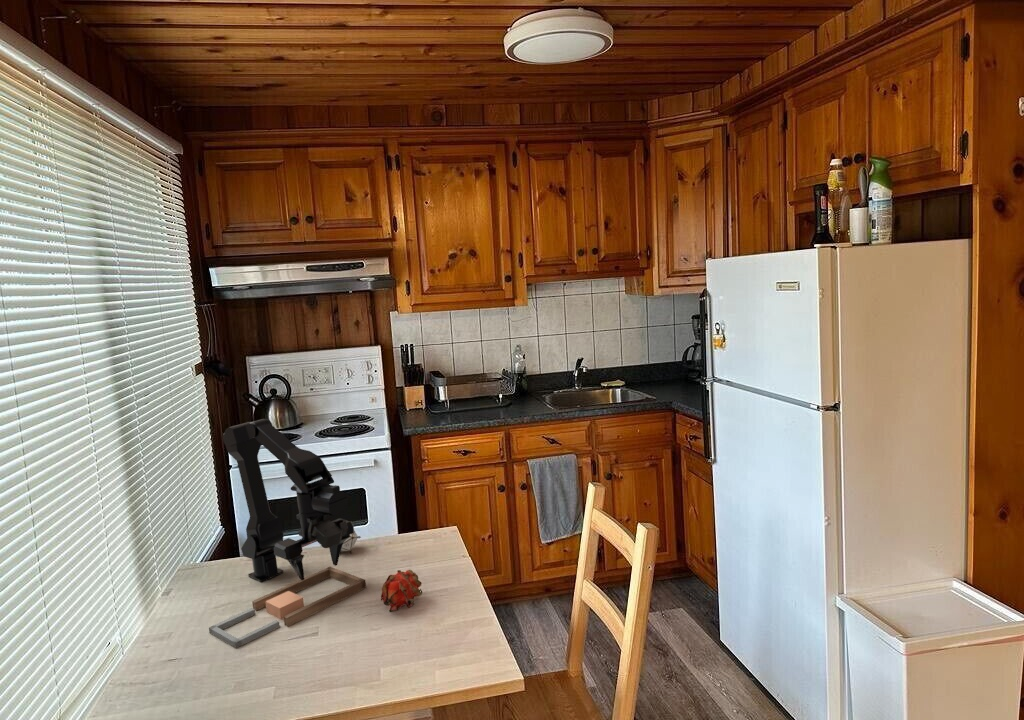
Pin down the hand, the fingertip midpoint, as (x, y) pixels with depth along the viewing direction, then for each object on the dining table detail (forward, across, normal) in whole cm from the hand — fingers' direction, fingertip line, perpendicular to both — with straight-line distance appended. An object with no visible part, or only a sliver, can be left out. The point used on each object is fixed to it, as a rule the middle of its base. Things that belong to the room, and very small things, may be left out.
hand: (319, 572), depth 169 cm
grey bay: (+5, -19, 0) cm, 20 cm away
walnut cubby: (+5, -4, 0) cm, 6 cm away
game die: (+6, +18, +16) cm, 25 cm away
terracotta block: (+6, -10, 0) cm, 11 cm away
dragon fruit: (+5, +6, -22) cm, 24 cm away
